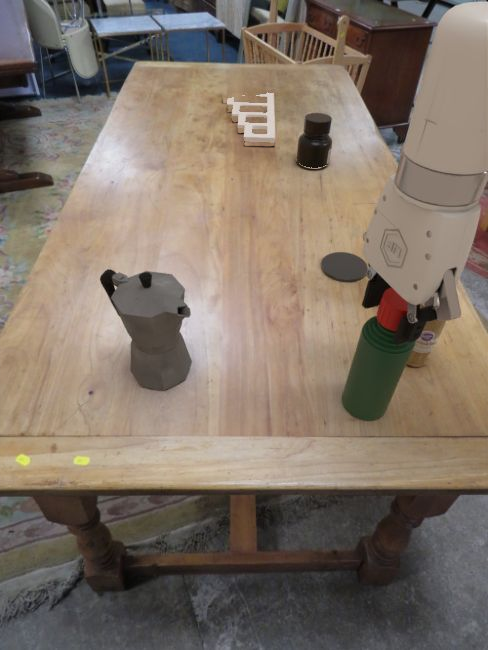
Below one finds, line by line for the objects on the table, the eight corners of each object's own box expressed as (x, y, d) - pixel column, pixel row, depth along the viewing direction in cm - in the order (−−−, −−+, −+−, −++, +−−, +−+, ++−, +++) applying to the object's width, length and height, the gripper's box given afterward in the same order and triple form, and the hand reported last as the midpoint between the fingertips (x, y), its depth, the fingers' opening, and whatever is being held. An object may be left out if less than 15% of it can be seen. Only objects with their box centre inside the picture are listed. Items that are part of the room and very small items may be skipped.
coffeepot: (214, 366, 67) (210, 273, 54) (175, 409, 61) (160, 316, 49) (139, 326, 73) (120, 234, 60) (98, 362, 67) (66, 269, 54)
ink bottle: (335, 167, 117) (344, 121, 109) (308, 173, 114) (314, 126, 106) (316, 153, 123) (322, 109, 115) (289, 159, 120) (293, 113, 112)
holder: (274, 147, 126) (275, 137, 124) (212, 145, 126) (212, 135, 124) (273, 96, 158) (273, 88, 156) (223, 95, 158) (223, 86, 156)
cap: (409, 309, 52) (417, 288, 50) (415, 333, 49) (423, 313, 47) (374, 305, 53) (381, 284, 50) (377, 330, 50) (384, 309, 48)
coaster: (365, 256, 88) (366, 254, 88) (368, 284, 82) (368, 282, 81) (321, 252, 89) (321, 249, 89) (320, 279, 83) (320, 276, 82)
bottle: (384, 387, 65) (424, 288, 51) (388, 423, 60) (433, 326, 47) (341, 381, 65) (369, 283, 52) (342, 417, 61) (373, 320, 47)
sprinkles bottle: (402, 368, 67) (430, 304, 58) (394, 346, 71) (419, 282, 61) (431, 368, 68) (464, 303, 58) (422, 346, 71) (451, 282, 61)
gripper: (352, 144, 43) (325, 285, 56) (476, 234, 32) (407, 385, 45) (414, 135, 45) (374, 272, 58) (551, 216, 34) (464, 365, 47)
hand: (389, 320), depth 51 cm, fingers open, 5 cm apart
